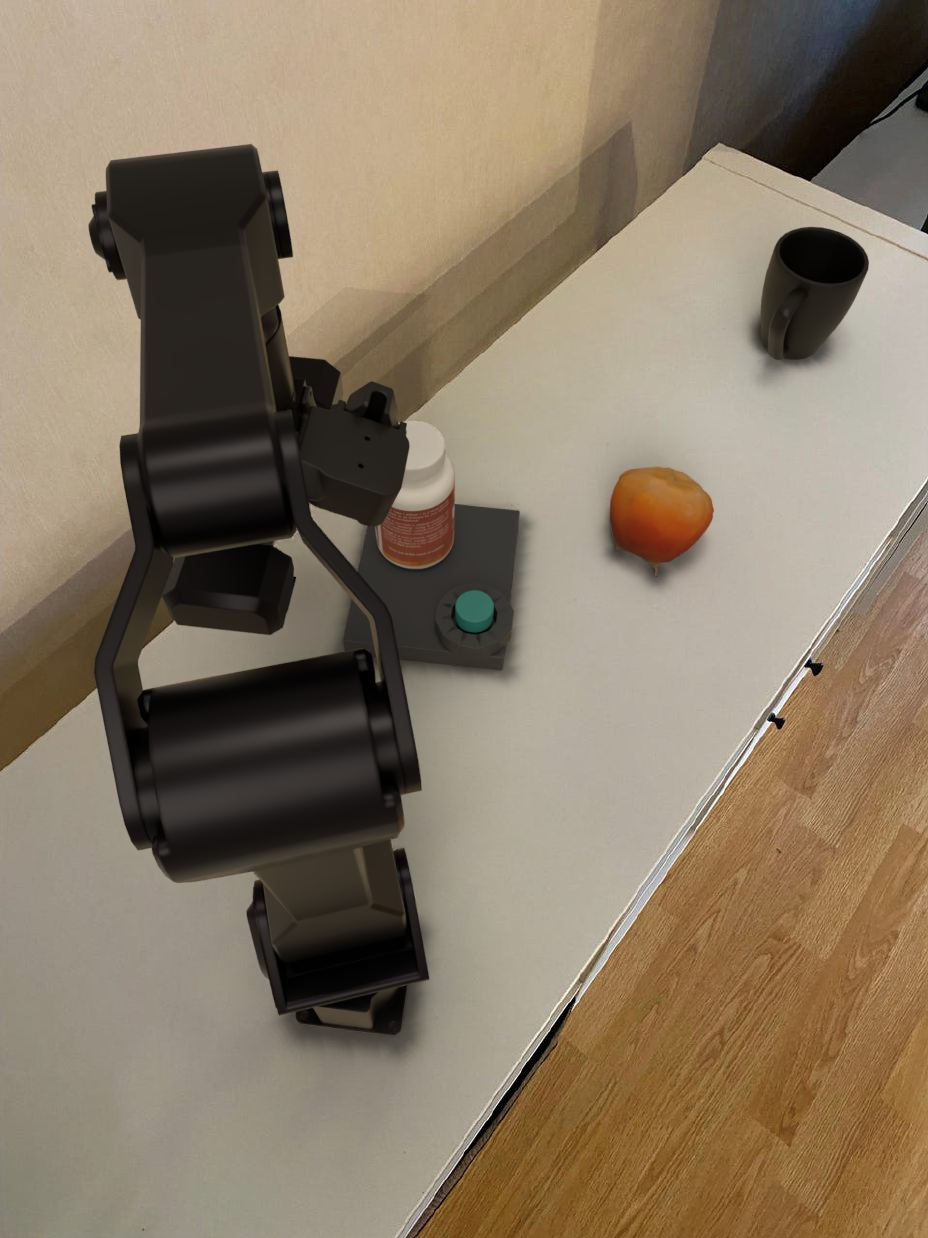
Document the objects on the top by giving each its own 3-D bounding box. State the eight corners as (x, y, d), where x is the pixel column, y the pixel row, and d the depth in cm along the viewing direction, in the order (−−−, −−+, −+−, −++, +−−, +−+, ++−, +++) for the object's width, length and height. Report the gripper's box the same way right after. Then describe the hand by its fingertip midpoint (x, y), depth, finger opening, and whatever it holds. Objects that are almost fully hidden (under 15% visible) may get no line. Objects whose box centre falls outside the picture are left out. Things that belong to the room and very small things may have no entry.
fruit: (579, 559, 76) (612, 466, 73) (605, 531, 83) (637, 445, 79) (674, 600, 74) (714, 507, 71) (694, 567, 81) (730, 481, 77)
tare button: (491, 635, 71) (491, 624, 69) (453, 631, 71) (453, 619, 69) (494, 603, 72) (495, 591, 71) (457, 599, 72) (457, 587, 71)
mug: (712, 368, 90) (738, 284, 82) (769, 299, 96) (799, 214, 88) (792, 406, 88) (827, 323, 80) (846, 333, 93) (884, 249, 85)
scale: (506, 675, 72) (509, 651, 69) (344, 657, 73) (339, 633, 70) (522, 525, 80) (525, 497, 77) (375, 509, 81) (372, 482, 78)
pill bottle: (469, 550, 76) (473, 454, 67) (402, 584, 74) (397, 491, 65) (427, 498, 79) (426, 399, 69) (361, 530, 77) (351, 433, 68)
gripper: (361, 553, 44) (380, 710, 57) (419, 286, 54) (424, 472, 67) (123, 528, 45) (197, 689, 58) (224, 269, 55) (267, 456, 68)
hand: (281, 568), depth 63 cm, fingers open, 9 cm apart
